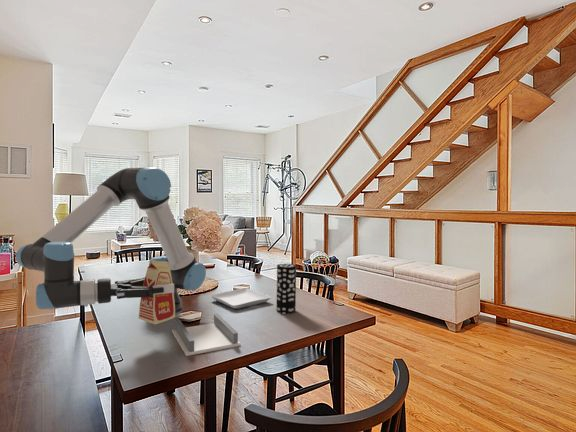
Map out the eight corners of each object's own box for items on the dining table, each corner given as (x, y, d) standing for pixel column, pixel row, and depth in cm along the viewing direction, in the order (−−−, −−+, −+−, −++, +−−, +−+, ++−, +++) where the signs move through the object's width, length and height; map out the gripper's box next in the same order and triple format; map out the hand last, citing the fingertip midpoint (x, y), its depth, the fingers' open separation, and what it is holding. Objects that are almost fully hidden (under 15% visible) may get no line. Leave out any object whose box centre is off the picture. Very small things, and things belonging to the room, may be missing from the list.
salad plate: (233, 312, 158) (233, 304, 158) (209, 301, 174) (209, 294, 174) (272, 303, 172) (272, 296, 172) (246, 294, 188) (246, 287, 188)
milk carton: (155, 324, 117) (155, 262, 116) (137, 318, 122) (137, 259, 121) (178, 316, 125) (178, 258, 124) (160, 311, 130) (160, 255, 128)
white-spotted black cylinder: (293, 314, 156) (294, 267, 155) (274, 313, 158) (275, 266, 156) (297, 308, 164) (297, 264, 163) (278, 307, 166) (279, 263, 165)
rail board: (172, 332, 134) (172, 320, 134) (220, 324, 143) (220, 313, 142) (186, 356, 115) (186, 341, 115) (240, 345, 123) (240, 332, 123)
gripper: (96, 294, 124) (165, 287, 134) (97, 314, 104) (177, 304, 114) (96, 272, 124) (165, 267, 134) (96, 288, 104) (177, 280, 114)
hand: (170, 284), depth 124 cm, fingers closed on milk carton, 10 cm apart
